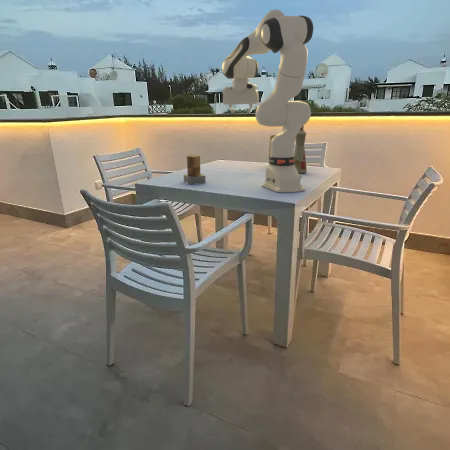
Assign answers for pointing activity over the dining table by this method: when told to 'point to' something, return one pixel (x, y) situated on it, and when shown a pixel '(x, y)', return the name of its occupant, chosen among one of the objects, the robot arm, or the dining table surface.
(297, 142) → the bottle
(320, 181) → the dining table surface
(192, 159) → the walnut block
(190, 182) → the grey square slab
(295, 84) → the robot arm
